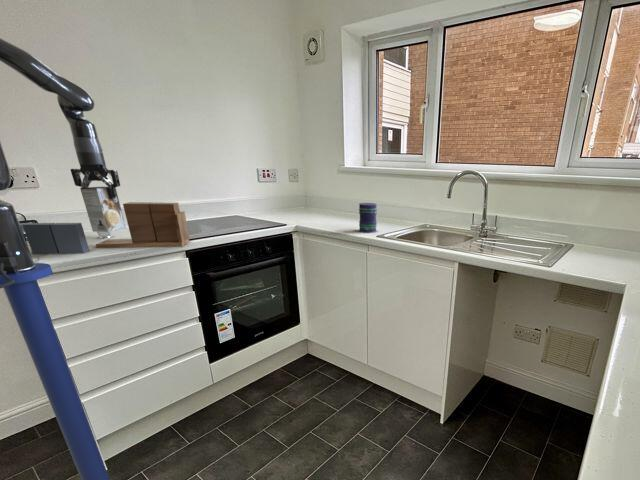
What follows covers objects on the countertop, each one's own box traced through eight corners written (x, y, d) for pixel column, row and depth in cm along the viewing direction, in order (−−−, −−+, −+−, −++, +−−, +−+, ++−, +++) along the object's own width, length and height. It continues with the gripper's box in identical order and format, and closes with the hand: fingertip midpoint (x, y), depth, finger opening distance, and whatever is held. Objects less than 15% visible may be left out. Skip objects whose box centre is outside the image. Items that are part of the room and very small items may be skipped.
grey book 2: (83, 252, 136) (75, 224, 132) (59, 253, 134) (49, 224, 130) (89, 250, 140) (81, 222, 136) (65, 250, 138) (56, 222, 134)
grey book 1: (57, 253, 134) (48, 224, 130) (32, 253, 132) (22, 224, 128) (64, 251, 138) (55, 222, 134) (39, 251, 136) (29, 223, 132)
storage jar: (356, 231, 197) (355, 204, 191) (364, 228, 205) (364, 202, 200) (371, 233, 193) (371, 205, 188) (379, 230, 202) (379, 203, 196)
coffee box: (110, 227, 141) (100, 186, 136) (126, 228, 141) (116, 186, 136) (91, 231, 133) (79, 187, 127) (108, 232, 133) (96, 187, 127)
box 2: (180, 241, 153) (173, 204, 147) (157, 242, 151) (149, 203, 145) (185, 238, 158) (178, 202, 152) (162, 239, 156) (154, 202, 150)
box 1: (156, 242, 151) (147, 203, 145) (132, 242, 148) (122, 203, 143) (161, 239, 156) (153, 202, 150) (138, 239, 154) (129, 202, 148)
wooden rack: (183, 246, 152) (176, 214, 147) (96, 247, 144) (86, 214, 139) (190, 241, 161) (184, 211, 156) (109, 242, 153) (100, 211, 148)
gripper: (59, 150, 122) (73, 199, 128) (106, 152, 125) (118, 199, 131) (72, 151, 129) (85, 197, 135) (117, 152, 132) (128, 197, 138)
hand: (101, 198), depth 133 cm, fingers closed on coffee box, 7 cm apart
